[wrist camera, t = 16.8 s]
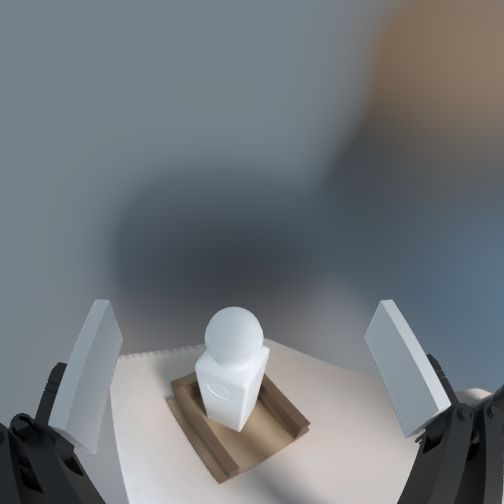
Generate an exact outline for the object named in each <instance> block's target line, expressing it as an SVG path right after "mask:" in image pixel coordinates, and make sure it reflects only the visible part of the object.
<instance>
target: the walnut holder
mask: <svg viewBox="0 0 504 504" xmlns="http://www.w3.org/2000/svg"><path fill="white" fill-rule="evenodd" d="M170 383H171V386H172V389H173V393H174V396H175V398H173V399H170V400H168V401H167V402H168V405H169V406H170V408H171V410H172V412H173V414H174V415H175V417H176V419H177V421H178V422H179V424H180V426H181V427H182V429H183V431H184V432H185V434H186V436H187V437H188V439H189V440H190V442H191V444H192V445H193V447H194V448H195V450H196V451H197V453H198V454H199V456H200V457H201V459H202V460H203V462H204V463H205V465H206V466H207V468H208V469H209V470H210V472H211V473H212V475H213V476H214V477H215V479H216V480H217V481H218V483H219V484H221V483H223V482H225V481H227V480H229V479H231V478H233V477H235V476H237V475H239V474H241V473H243V472H245V471H246V470H248V469H250V468H252V467H254V466H255V465H257V464H259V463H261V462H262V461H264V460H266V459H267V458H269V457H271V456H272V455H274V454H275V453H277V452H279V451H280V450H282V449H283V448H285V447H286V446H288V445H289V444H291V443H292V442H294V441H295V440H297V439H298V438H300V437H301V436H303V435H304V434H305V433H307V432H308V431H309V428H308V426H309V424H310V422H309V421H308V420H307V419H306V418H305V417H304V416H303V415H302V414H301V413H300V412H299V411H298V410H297V409H296V408H295V406H294V405H293V404H292V403H291V402H290V401H289V400H288V399H287V398H286V397H285V396H284V395H283V393H282V392H281V391H280V390H279V389H278V388H277V387H276V386H275V385H274V384H273V382H272V381H271V380H270V379H269V378H268V377H267V376H266V375H265V373H264V375H263V378H262V382H261V386H260V389H259V393H258V396H257V400H256V403H255V406H254V408H253V410H252V412H251V414H250V416H249V417H248V419H247V421H246V423H245V425H244V426H243V428H242V430H241V431H240V432H237V431H235V430H233V429H231V428H228V427H226V426H224V425H222V424H220V423H217V422H215V421H213V420H211V419H209V418H208V417H207V414H206V411H205V407H204V403H203V399H202V395H201V392H200V388H199V384H198V379H197V375H196V372H194V373H192V374H190V375H187V376H185V377H182V378H180V379H177V380H175V381H172V382H170Z"/></svg>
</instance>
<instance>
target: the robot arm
mask: <svg viewBox="0 0 504 504" xmlns="http://www.w3.org/2000/svg"><path fill="white" fill-rule="evenodd" d="M364 339H365V341H366V343H367V346H368V348H369V350H370V352H371V354H372V357H373V359H374V361H375V364H376V366H377V368H378V370H379V373H380V375H381V377H382V380H383V382H384V385H385V387H386V389H387V392H388V394H389V397H390V399H391V402H392V404H393V407H394V409H395V412H396V414H397V417H398V419H399V422H400V425H401V427H402V430H403V433H404V435H405V438H407V437H410V436H412V435H415V434H417V433H419V432H420V431H421V430H423V429H424V428H425V429H426V432H424V433H423V434H422V435H420V436H419V437H418V438H417V439H416V441H415V442H416V443H417V442H418V441H420V440H421V439H422V441H421V442H420V443H419V444H420V447H419V450H418V453H417V456H416V459H415V462H414V465H413V467H412V470H411V473H410V475H409V478H408V480H407V483H406V485H405V487H404V490H403V492H402V494H401V496H400V498H399V501H398V503H397V504H502V494H503V476H504V384H503V385H502V386H501V387H500V388H499V389H498V390H497V391H496V392H495V393H493V394H491V395H489V396H487V397H485V398H483V399H481V400H478V401H476V402H475V403H473V404H472V405H471V406H470V407H469V406H468V405H467V404H464V403H460V402H459V401H458V399H457V397H456V395H455V393H454V391H453V390H452V388H451V386H450V384H449V382H448V380H447V378H445V374H444V373H443V371H442V369H441V367H440V365H439V364H438V362H437V360H436V359H435V358H434V357H432V356H431V355H430V354H428V355H425V353H424V351H423V350H422V348H421V346H420V344H419V342H418V341H417V339H416V337H415V336H414V334H413V332H412V331H411V329H410V327H409V326H408V324H407V322H406V321H405V319H404V318H403V316H402V314H401V313H400V311H399V310H398V308H397V306H396V305H395V303H394V302H393V300H382V301H380V303H379V305H378V307H377V310H376V312H375V314H374V316H373V318H372V320H371V323H370V325H369V327H368V329H367V331H366V333H365V335H364ZM122 341H123V338H122V335H121V332H120V329H119V326H118V324H117V321H116V318H115V315H114V312H113V309H112V306H111V303H110V300H101V299H96V300H95V302H94V304H93V306H92V308H91V310H90V312H89V314H88V317H87V319H86V321H85V323H84V325H83V328H82V330H81V332H80V335H79V337H78V340H77V342H76V344H75V347H74V349H73V351H72V354H71V357H70V359H69V362H68V364H65V363H61V362H59V363H58V364H57V365H56V366H55V367H54V368H53V369H52V371H51V373H50V376H49V379H48V383H47V384H46V387H45V391H44V393H43V395H42V398H41V401H40V405H39V408H38V410H37V414H36V417H35V419H34V420H33V418H31V417H30V416H29V415H28V414H24V413H20V414H17V415H16V416H14V417H13V419H12V420H11V423H10V428H6V427H5V426H4V425H2V424H1V423H0V504H106V503H105V502H104V500H103V499H102V497H101V496H100V494H99V493H98V491H97V490H96V488H95V487H94V485H93V484H92V482H91V480H90V479H89V477H88V475H87V474H86V472H85V470H84V469H83V467H82V465H81V464H80V461H79V460H78V458H77V456H76V454H75V453H74V446H75V447H76V448H78V449H79V450H81V451H84V452H87V453H91V454H94V455H96V452H97V445H98V441H99V435H100V430H101V425H102V420H103V415H104V410H105V406H106V401H107V397H108V393H109V389H110V385H111V381H112V377H113V373H114V369H115V366H116V362H117V358H118V355H119V351H120V348H121V345H122Z"/></svg>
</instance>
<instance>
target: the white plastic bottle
mask: <svg viewBox="0 0 504 504" xmlns="http://www.w3.org/2000/svg"><path fill="white" fill-rule="evenodd" d="M205 343H206V346H207V349H206V351H205V352H204V353H203V354H202V355H201V357H200V358H199V359H198V360H197V362H196V363H195V371H196V375H197V379H198V384H199V388H200V392H201V395H202V399H203V403H204V407H205V411H206V414H207V417H208V418H209V419H211V420H213V421H215V422H217V423H220V424H222V425H224V426H226V427H228V428H231V429H233V430H235V431H237V432H240V431H241V430H242V428H243V426H244V425H245V423H246V421H247V419H248V417H249V416H250V414H251V412H252V410H253V408H254V406H255V403H256V400H257V396H258V393H259V389H260V386H261V382H262V378H263V375H264V371H265V367H266V364H267V360H268V356H269V352H270V350H269V348H268V347H267V346H265V345H263V332H262V329H261V327H260V324H259V322H258V320H257V319H256V317H255V316H254V315H253V314H252V313H251V312H249V311H248V310H246V309H243V308H240V307H228V308H225V309H222V310H221V311H219V312H217V314H215V315H214V316H213V318H212V319H211V321H210V323H209V325H208V326H207V328H206V332H205Z"/></svg>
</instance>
